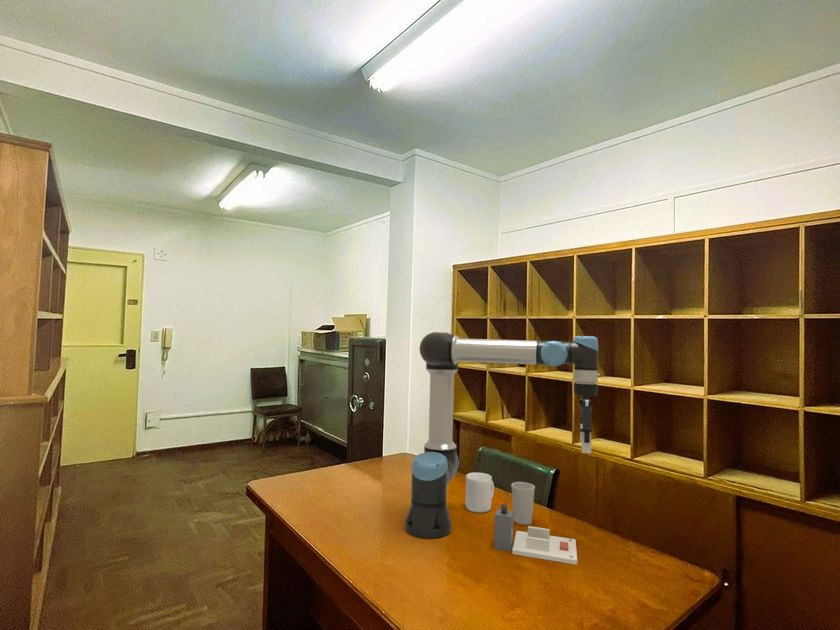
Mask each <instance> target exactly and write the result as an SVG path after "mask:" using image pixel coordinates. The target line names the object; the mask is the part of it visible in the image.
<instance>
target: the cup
mask: <svg viewBox="0 0 840 630" xmlns="http://www.w3.org/2000/svg"><path fill="white" fill-rule="evenodd" d="M510 487H511V495H512V496H511V497H512V498H511V499H512V511H513V523H516V524H519V525H531V524H532V523H533V510H534V499H535V489H536V486H535V485H534V484H532V483H528V482H524V481H515V482H512V483H511V486H510Z"/></svg>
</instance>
